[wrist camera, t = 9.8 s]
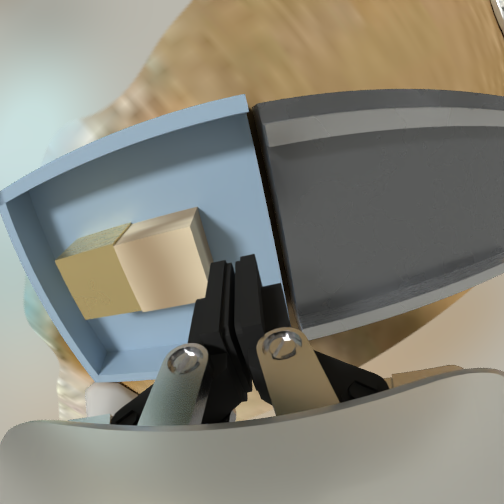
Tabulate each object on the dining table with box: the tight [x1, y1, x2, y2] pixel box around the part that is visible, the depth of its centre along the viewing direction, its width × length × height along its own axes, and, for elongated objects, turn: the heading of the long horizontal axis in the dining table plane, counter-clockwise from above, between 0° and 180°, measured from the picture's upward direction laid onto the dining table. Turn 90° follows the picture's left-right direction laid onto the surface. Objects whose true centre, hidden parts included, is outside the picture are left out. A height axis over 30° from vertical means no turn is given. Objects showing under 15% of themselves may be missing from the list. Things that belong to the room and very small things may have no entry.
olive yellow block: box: [55, 222, 142, 320], centre depth 15 cm, size 4×4×3 cm
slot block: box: [252, 89, 504, 340], centre depth 16 cm, size 18×14×5 cm
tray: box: [0, 94, 290, 383], centre depth 17 cm, size 15×15×5 cm
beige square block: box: [113, 207, 213, 312], centre depth 15 cm, size 4×4×3 cm
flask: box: [85, 382, 138, 417], centre depth 22 cm, size 7×7×10 cm
